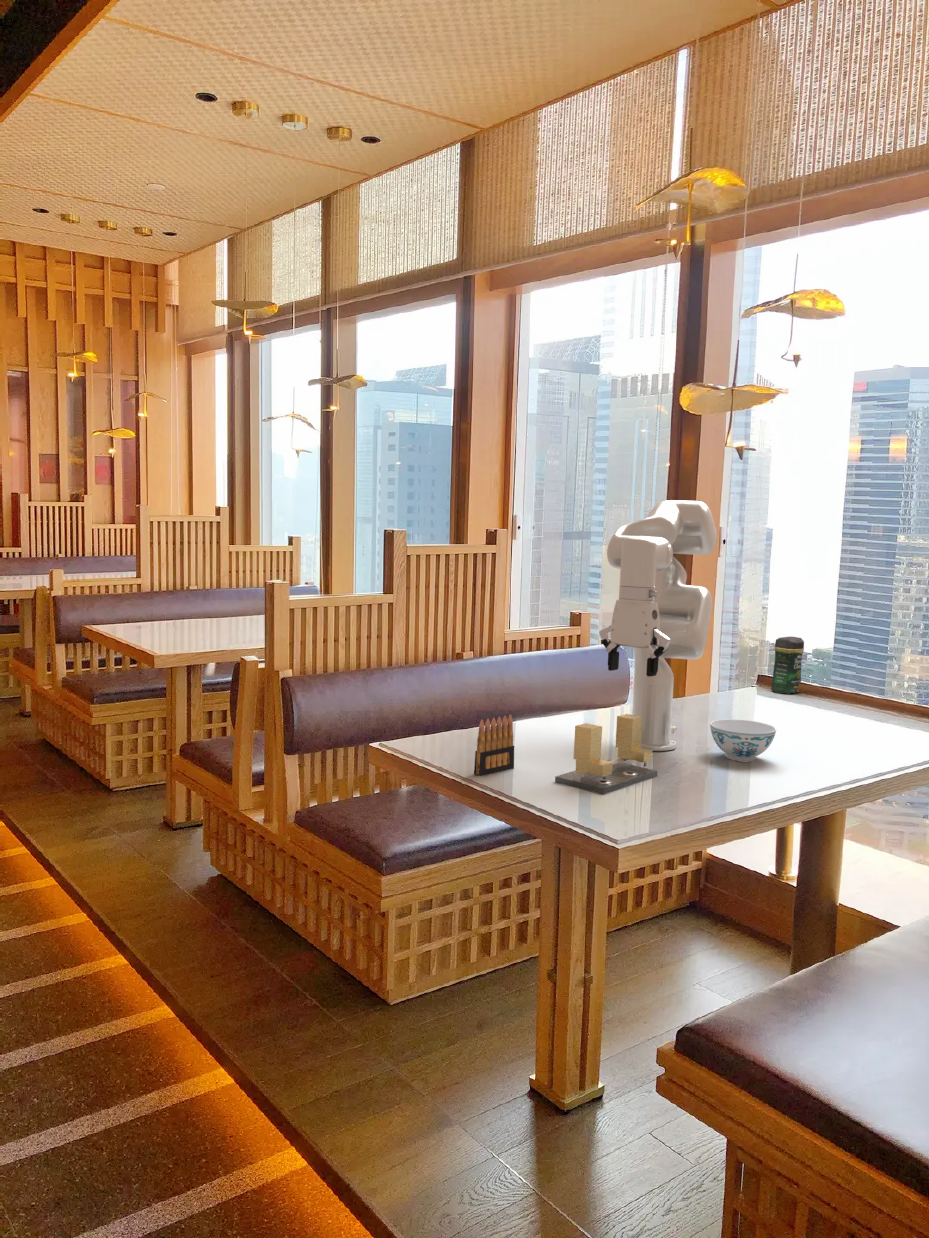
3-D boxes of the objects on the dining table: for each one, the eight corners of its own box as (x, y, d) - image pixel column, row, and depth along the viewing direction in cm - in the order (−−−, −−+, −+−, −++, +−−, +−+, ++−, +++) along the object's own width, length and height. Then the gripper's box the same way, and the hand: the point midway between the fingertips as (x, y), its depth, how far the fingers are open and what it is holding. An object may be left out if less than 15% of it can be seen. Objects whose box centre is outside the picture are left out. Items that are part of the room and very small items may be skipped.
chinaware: (780, 756, 236) (782, 725, 235) (765, 769, 223) (767, 736, 222) (718, 747, 243) (720, 716, 242) (700, 759, 230) (702, 726, 229)
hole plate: (610, 765, 221) (613, 711, 220) (657, 775, 214) (660, 720, 212) (555, 781, 206) (557, 724, 204) (603, 794, 198) (606, 734, 197)
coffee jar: (788, 695, 320) (792, 638, 318) (767, 691, 326) (771, 636, 324) (804, 692, 327) (808, 637, 325) (783, 689, 333) (787, 634, 331)
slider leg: (624, 758, 220) (626, 713, 219) (652, 764, 215) (654, 719, 214) (614, 761, 217) (617, 716, 216) (642, 767, 212) (645, 721, 211)
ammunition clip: (508, 766, 217) (510, 713, 216) (514, 768, 216) (516, 714, 214) (473, 774, 210) (475, 718, 208) (479, 776, 208) (481, 720, 207)
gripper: (680, 597, 210) (675, 676, 212) (612, 591, 222) (608, 666, 223) (662, 598, 205) (658, 680, 207) (593, 592, 216) (589, 669, 218)
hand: (632, 672), depth 215 cm, fingers open, 9 cm apart
